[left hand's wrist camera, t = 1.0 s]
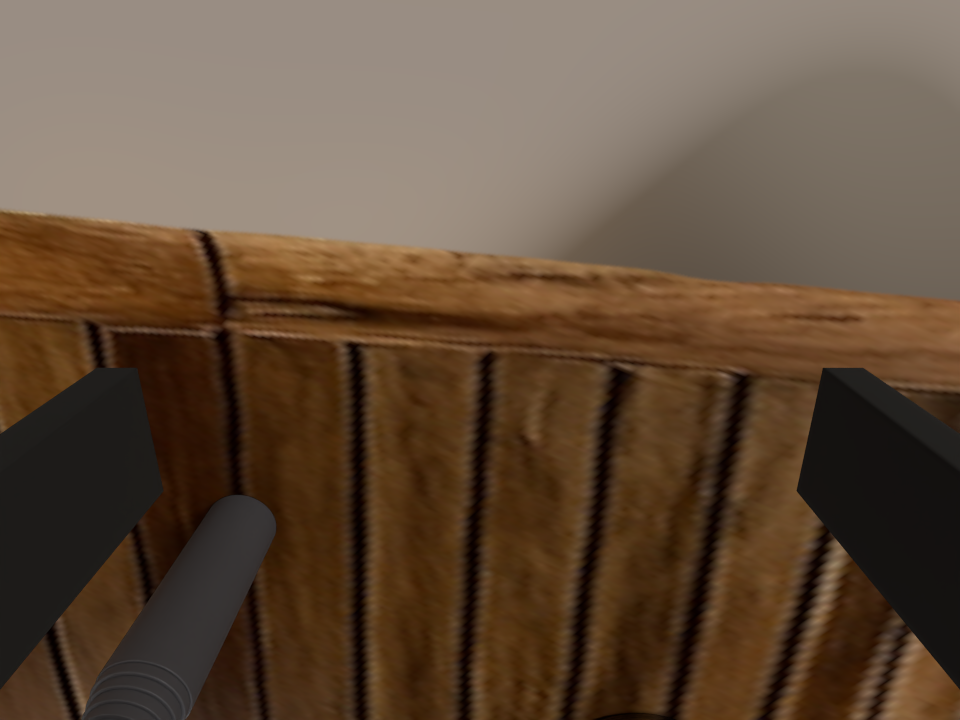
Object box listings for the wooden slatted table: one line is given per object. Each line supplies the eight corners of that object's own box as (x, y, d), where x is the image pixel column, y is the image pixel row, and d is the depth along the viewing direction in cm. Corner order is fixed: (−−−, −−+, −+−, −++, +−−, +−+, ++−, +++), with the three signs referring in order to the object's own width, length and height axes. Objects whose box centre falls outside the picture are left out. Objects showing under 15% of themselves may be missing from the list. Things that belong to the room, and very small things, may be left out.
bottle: (193, 523, 47) (7, 794, 28) (235, 482, 46) (69, 738, 27) (248, 562, 48) (104, 846, 30) (290, 523, 47) (167, 795, 28)
